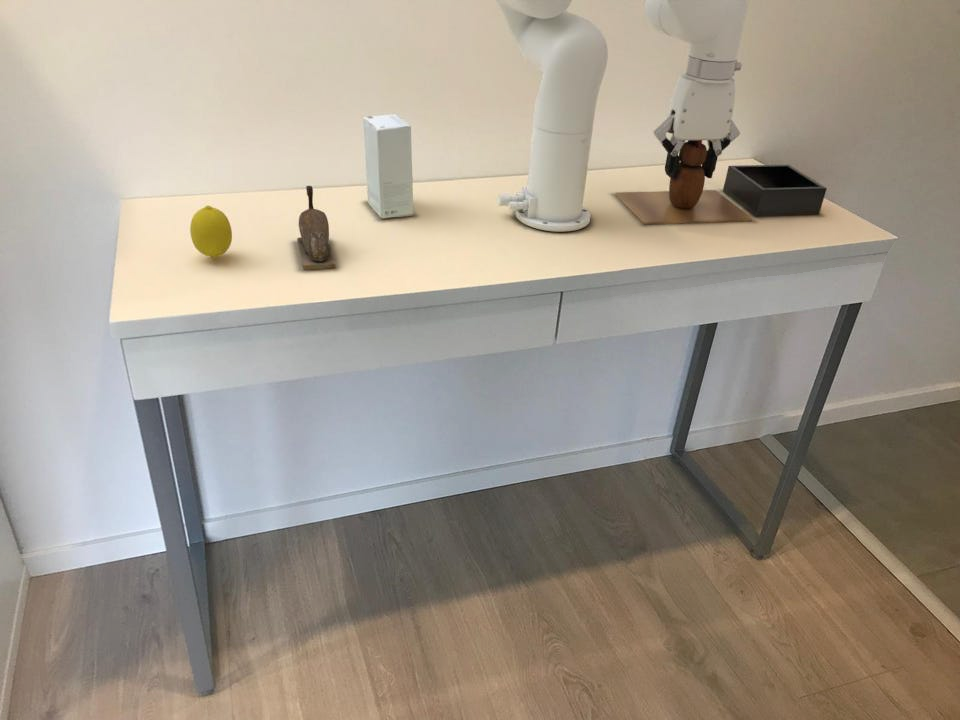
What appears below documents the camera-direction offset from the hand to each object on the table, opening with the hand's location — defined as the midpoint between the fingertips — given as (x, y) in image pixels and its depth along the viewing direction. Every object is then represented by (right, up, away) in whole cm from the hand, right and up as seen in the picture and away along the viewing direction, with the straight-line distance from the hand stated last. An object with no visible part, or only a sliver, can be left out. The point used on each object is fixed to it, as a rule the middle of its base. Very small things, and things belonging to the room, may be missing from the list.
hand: (688, 175), depth 139 cm
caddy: (+17, -3, +8) cm, 19 cm away
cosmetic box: (-52, -7, -5) cm, 53 cm away
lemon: (-75, -18, -25) cm, 81 cm away
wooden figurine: (0, -5, +3) cm, 6 cm away
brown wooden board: (0, -5, +3) cm, 6 cm away
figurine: (-61, -16, -20) cm, 66 cm away
